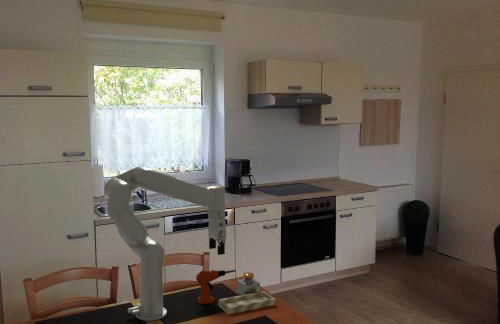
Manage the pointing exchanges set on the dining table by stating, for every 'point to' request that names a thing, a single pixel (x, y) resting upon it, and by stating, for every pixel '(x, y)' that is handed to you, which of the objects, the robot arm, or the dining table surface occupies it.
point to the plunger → (248, 277)
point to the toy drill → (208, 284)
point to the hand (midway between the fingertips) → (216, 251)
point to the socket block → (247, 287)
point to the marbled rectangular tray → (246, 302)
